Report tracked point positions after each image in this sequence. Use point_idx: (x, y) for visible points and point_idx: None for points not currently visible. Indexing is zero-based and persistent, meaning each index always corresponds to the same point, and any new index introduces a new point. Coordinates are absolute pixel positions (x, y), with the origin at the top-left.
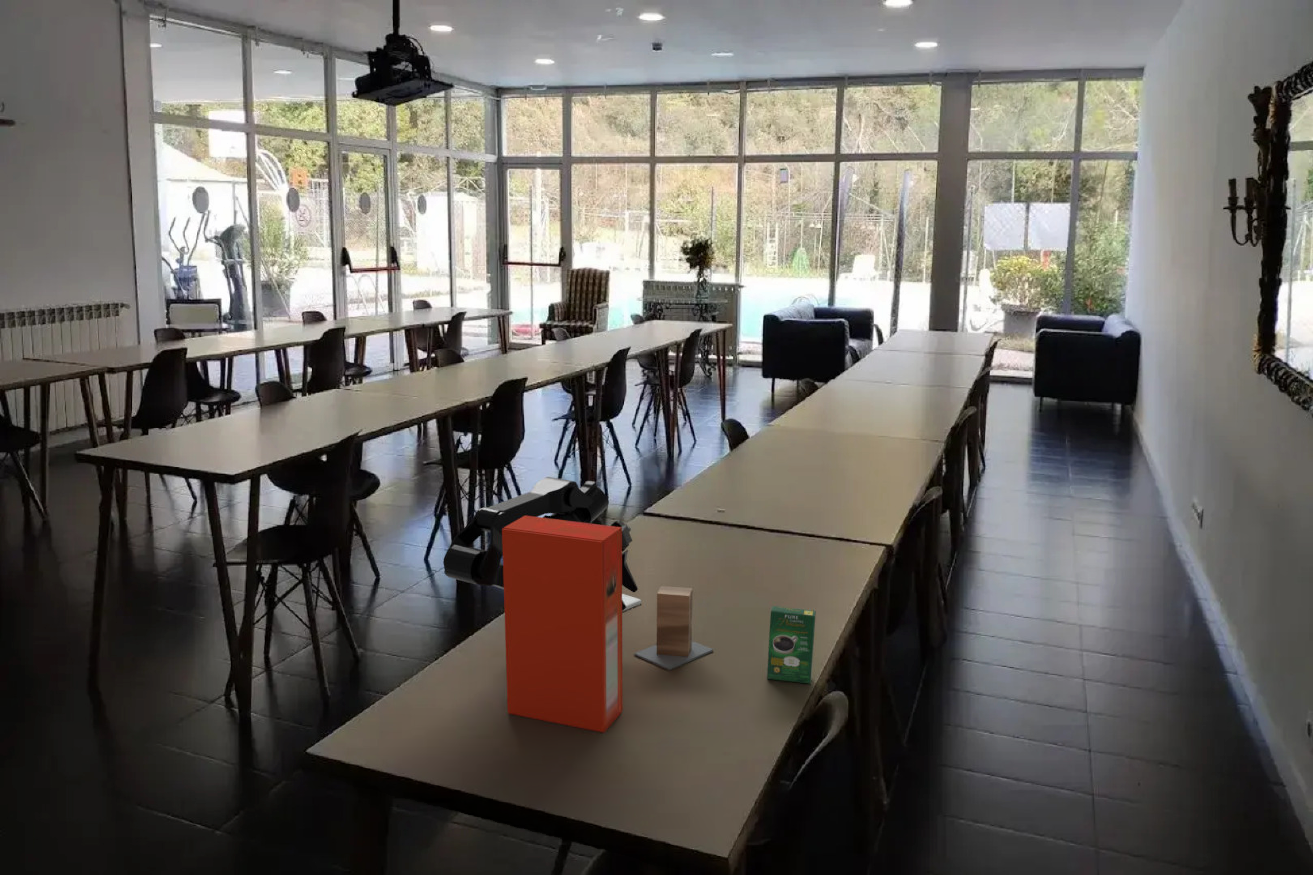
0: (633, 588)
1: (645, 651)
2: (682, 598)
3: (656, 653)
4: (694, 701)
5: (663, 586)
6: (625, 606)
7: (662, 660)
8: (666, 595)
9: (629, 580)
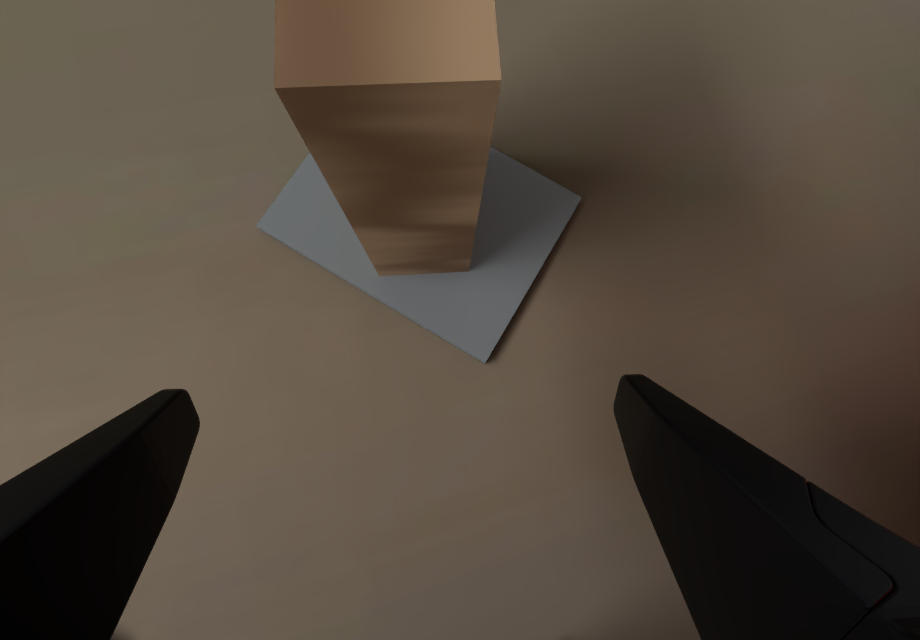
0: (177, 430)
1: (454, 321)
2: None
3: (461, 273)
4: (778, 75)
5: (281, 62)
6: (644, 377)
7: (520, 235)
8: (492, 7)
9: (108, 491)
